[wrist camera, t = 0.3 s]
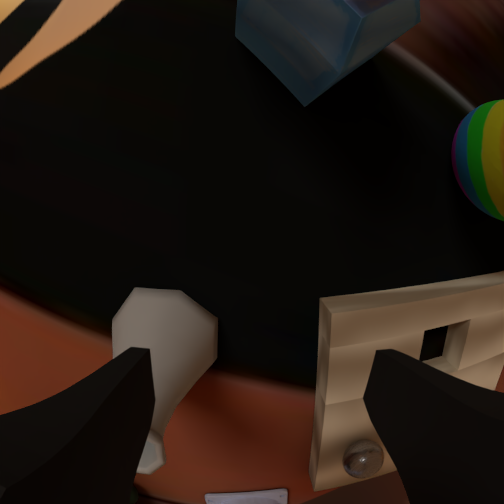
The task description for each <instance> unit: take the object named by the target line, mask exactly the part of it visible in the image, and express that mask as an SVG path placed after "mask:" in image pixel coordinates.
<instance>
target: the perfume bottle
mask: <svg viewBox="0 0 504 504" xmlns="http://www.w3.org/2000/svg"><path fill="white" fill-rule="evenodd" d="M419 22H420V2H419V0H237V14H236V29H235V37H236V38H237V39H238V40H240V41H241V42H242V43H243V44H244V45H245V46H246V47H247V48H248V49H249V50H250V51H251V52H252V53H253V54H254V55H255V56H256V57H257V58H258V59H259V60H260V61H261V62H262V63H263V64H264V65H265V66H266V67H267V68H268V69H269V70H270V71H271V72H272V73H273V74H274V75H275V76H276V77H277V78H278V79H279V80H280V81H281V82H282V83H283V84H284V85H285V86H286V87H287V88H288V89H289V90H290V92H291V93H292V94H293V95H294V96H295V97H296V98H297V99H298V100H299V101H300V103H301V104H302V105H303V106H304V107H306V106H307V105H308V104H309V103H311V102H312V101H313V100H315V99H316V98H317V97H318V96H320V95H321V94H322V93H324V92H325V91H326V90H328V89H329V88H330V87H332V86H333V85H334V84H336V83H337V82H339V81H340V80H341V79H343V78H344V77H345V76H347V75H348V74H349V73H351V72H352V71H354V70H355V69H356V68H358V67H359V66H361V65H362V64H364V63H365V62H366V61H368V60H369V59H371V58H372V57H373V56H375V55H376V54H377V53H378V52H380V51H381V50H382V49H384V48H385V47H386V46H388V45H389V44H390V43H392V42H393V41H394V40H396V39H397V38H398V37H400V36H401V35H402V34H404V33H405V32H406V31H408V30H409V29H411V28H412V27H413V26H415V25H416V24H417V23H419Z"/></svg>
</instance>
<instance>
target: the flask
mask: <svg viewBox="0 0 504 504" xmlns="http://www.w3.org/2000/svg"><path fill="white" fill-rule="evenodd" d="M112 338H113V359H114V358H115V357H117V356H118V355H119V354H121V353H122V352H124V351H125V350H127V349H128V348H130V347H139V348H150V354H151V364H152V373H153V382H154V391H155V398H156V401H155V407H154V413H153V418H152V424H151V428H150V431H149V434H148V437H147V440H146V444H145V447H144V450H143V453H142V456H141V459H140V462H139V465H138V469H137V472H136V473H141V474H148V475H151V474H152V473H153V472H155V471H156V470H158V469H159V468H160V467H161V466H163V465H164V464H165V463H166V454H165V449H164V443H163V436H164V432H165V428H166V426H167V424H168V422H169V420H170V418H171V416H172V414H173V412H174V410H175V408H176V406H177V405H178V404H179V403H180V401H181V400H182V399H183V398H184V396H185V395H186V394H187V393H188V391H189V390H190V389H191V388H192V387H193V385H194V384H195V383H196V382H197V380H198V379H199V378H200V377H201V376H202V375H203V374H204V373H205V372H206V371H207V369H208V368H209V367H210V366H211V365H212V364H213V363H214V361H215V360H216V359H217V345H218V318H217V317H215V316H214V315H213V314H211V313H210V312H209V311H207V310H206V309H205V308H203V307H202V306H200V305H199V304H198V303H196V302H195V301H194V300H193V299H191V298H190V297H189V296H187V295H186V294H185V293H183V292H182V291H181V290H165V289H149V288H134V290H133V291H132V292H131V294H130V295H129V297H128V298H127V299H126V301H125V302H124V304H123V305H122V306H121V308H120V309H119V311H118V312H117V314H116V315H115V316H114V318H113V320H112Z"/></svg>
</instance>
